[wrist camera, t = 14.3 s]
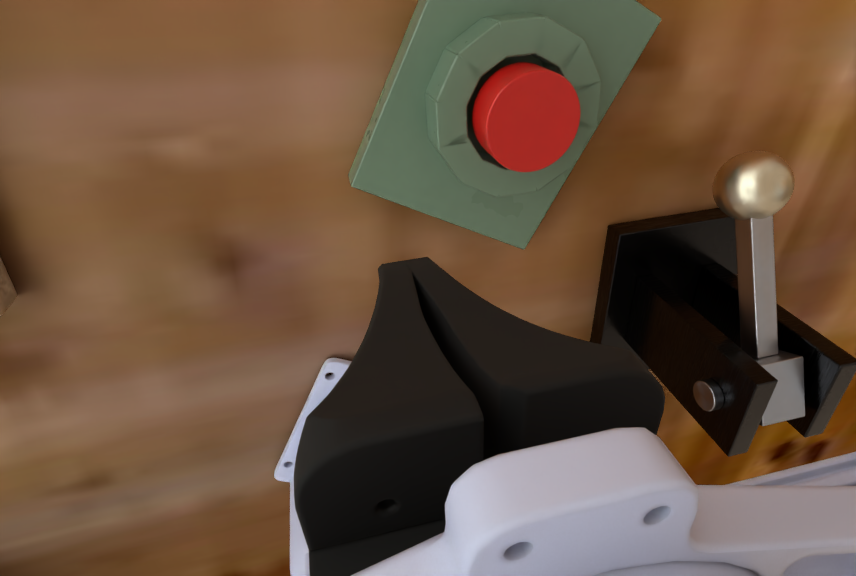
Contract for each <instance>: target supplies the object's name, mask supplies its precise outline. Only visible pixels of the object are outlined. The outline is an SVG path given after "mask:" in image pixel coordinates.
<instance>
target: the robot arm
mask: <svg viewBox="0 0 856 576" xmlns="http://www.w3.org/2000/svg"><path fill="white" fill-rule="evenodd" d="M378 273H379V291H378V295H377V300H376V305H375V309H374V312H373V315H372V318H371V321H370V324H369V327H368V330H367V332H366V335H365V337H364V339H363V341H362V343H361V345H360V347H359V349H358V351H357V353H356V355H355V357H354V358H353V360H352V361H348V360H343V359H338V358H329V359H327V360H326V361H325V362H324V364H323V366H322V368H321V370H320V372H319V375H318V377H317V379H316V381H315V383H314V386H313V388H312V390H311V392H310V394H309V396H308V399H307V401H306V403H305V405H304V407H303V410H302V412H301V414H300V416H299V418H298V420H297V423H296V425H295V427H294V429H293V431H292V434H291V436H290V438H289V440H288V442H287V445H286V447H285V449H284V451H283V453H282V455H281V458H280V460H279V462H278V464H277V466H276V469H275V472H274V477H275V479H277V480H279V481H285V482H290V572H291V576H856V452H853V453H849V454H845V455H841V456H837V457H833V458H829V459H825V460H822V461H818V462H814V463H810V464H806V465H802V466H798V467H794V468H790V469H786V470H782V471H778V472H774V473H770V474H766V475H762V476H758V477H755V478H751V479H747V480H743V481H739V482H735V483H731V484H727V485H696V484H695V483H694V482H693V480H692V479H691V478H690V477H689V475H688V474H687V473H686V471H685V470H684V469H683V467H682V466H681V465H680V464H679V462H678V461H677V460H676V458H675V457H674V456H673V455H672V453H671V452H670V451H669V449H668V448H667V447H666V445H665V444H664V443H663V442H662V440H661V439H660V438H659V437H658V436H656V435H657V431H658V428H659V424H660V421H661V417H662V414H663V410H664V403H665V395H664V391H663V388H662V386H661V385H660V383H659V382H658V381H657V380H656V379H655V377H654V376H653V375H652V374H651V373H650V371H649V370H648V369H647V368H646V367H645V365H644V364H643V363H642V362H641V361H640V360H639V359H638V358H637V357H636V356H635V355H634V354H633V353H632V352H631V351H630V350H628V349H623V348H618V347H613V346H607V345H602V344H597V343H592V342H588V341H584V340H580V339H576V338H573V337H569V336H565V335H562V334H559V333H556V332H553V331H550V330H547V329H545V328H542V327H539V326H537V325H534V324H531V323H529V322H527V321H524V320H522V319H520V318H518V317H516V316H514V315H512V314H510V313H507V312H505V311H503V310H501V309H500V308H498V307H496V306H494V305H492V304H491V303H489V302H488V301H486V300H484V299H483V298H481V297H479V296H478V295H476V294H475V293H473V292H472V291H470V290H469V289H467V288H466V287H465V286H463V285H462V284H461V283H459V282H458V281H457V280H455V279H454V278H453V277H451V276H450V275H449V274H448V273H446V272H445V271H444V270H443V269H442V268H440V267H439V266H438V265H437V264H435V263H434V262H433V261H432V260H430V259H429V258H428V257H424V258H418V259H411V260H405V261H398V262H392V263H386V264H382V265H381V266H380V267H379V268H378ZM327 373H333V374H332V375H326V374H327Z"/></svg>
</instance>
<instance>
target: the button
mask: <svg viewBox="0 0 856 576" xmlns="http://www.w3.org/2000/svg"><path fill="white" fill-rule="evenodd" d="M579 123H580V103H579V98H578V96H577V93H576V91H575V89H574V87H573V86H572V84H571V83H570V82H569V81H568V80H567V79H566V78H565V77H563V76H562V75H561V74H559V73H556V72H554V71H552V70H549V69H547V68H544V67H542V66H539V65H537V64H533V63H528V62H518V63H513V64H510V65H507V66H505V67H503V68H501V69H499V70H498V71H496V72H495V73H494V74H492V75H491V76H490V77H489V78H488V79H487V80H486V81H485V83H484V84H483V86H482V87H481V89H480V90H479V92H478V94H477V97H476V99H475V102H474V106H473V111H472V125H473V130H474V133H475V136H476V138H477V140H478V142H479V143H480V145H481V146H482V147H483V148H484V149H485V150H486V151H487V152H488V153H489V154H490V155H491V156H492V157H493V158H494V159H495V160H496V161H497V162H498V163H500V164H501V165H502V166H504V167H505V168H507V169H510V170H512V171H516V172H533V171H538V170H541V169H543V168H545V167H548V166H549V165H551V164H553V163H554V162H555V161H557V160H558V159H559V158H560V157H561V156H562V155H563V154H564V153H565V152H566V151H567V149H568V148H569V147H570V145H571V144H572V142H573V140H574V138H575V136H576V133H577V131H578V127H579Z"/></svg>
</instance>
